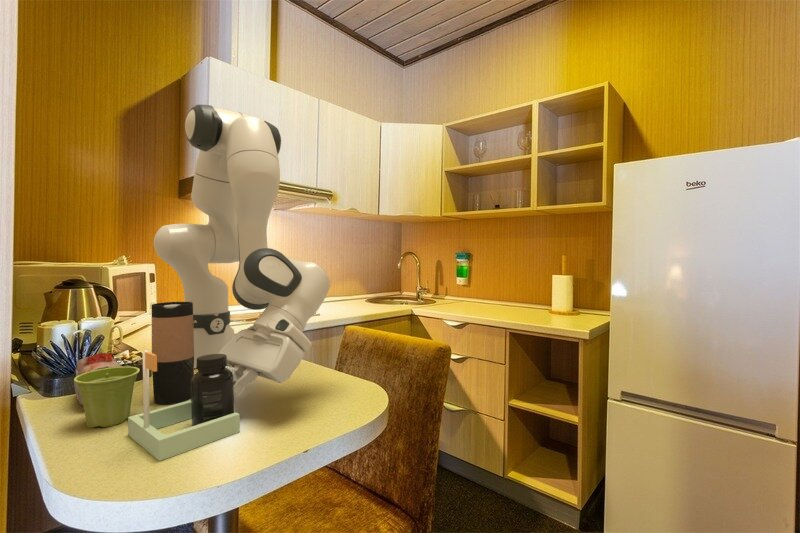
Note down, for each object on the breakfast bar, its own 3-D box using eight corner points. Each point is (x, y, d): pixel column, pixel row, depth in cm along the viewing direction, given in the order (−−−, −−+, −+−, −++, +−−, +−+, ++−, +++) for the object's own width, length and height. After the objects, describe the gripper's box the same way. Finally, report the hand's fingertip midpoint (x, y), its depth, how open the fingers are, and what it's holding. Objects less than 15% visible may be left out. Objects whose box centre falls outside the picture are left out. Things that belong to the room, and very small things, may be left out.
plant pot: (149, 418, 71) (148, 371, 71) (86, 438, 63) (85, 385, 63) (127, 407, 76) (126, 363, 76) (66, 424, 69) (65, 375, 68)
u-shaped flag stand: (128, 435, 64) (126, 345, 64) (203, 412, 74) (202, 333, 74) (159, 461, 56) (157, 357, 56) (239, 431, 65) (238, 343, 65)
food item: (129, 403, 79) (128, 355, 78) (78, 415, 73) (77, 363, 73) (114, 388, 88) (113, 345, 88) (68, 397, 82) (67, 351, 82)
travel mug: (177, 390, 86) (176, 301, 86) (202, 395, 83) (201, 302, 83) (143, 402, 79) (142, 304, 79) (170, 407, 76) (168, 306, 76)
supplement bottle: (242, 417, 71) (240, 352, 71) (219, 434, 64) (218, 362, 64) (207, 415, 72) (206, 351, 72) (182, 431, 65) (180, 361, 65)
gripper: (239, 316, 83) (192, 372, 75) (298, 326, 70) (248, 394, 63) (258, 333, 87) (215, 389, 79) (317, 346, 74) (273, 413, 66)
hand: (230, 391), depth 71 cm, fingers closed, pressing on supplement bottle
